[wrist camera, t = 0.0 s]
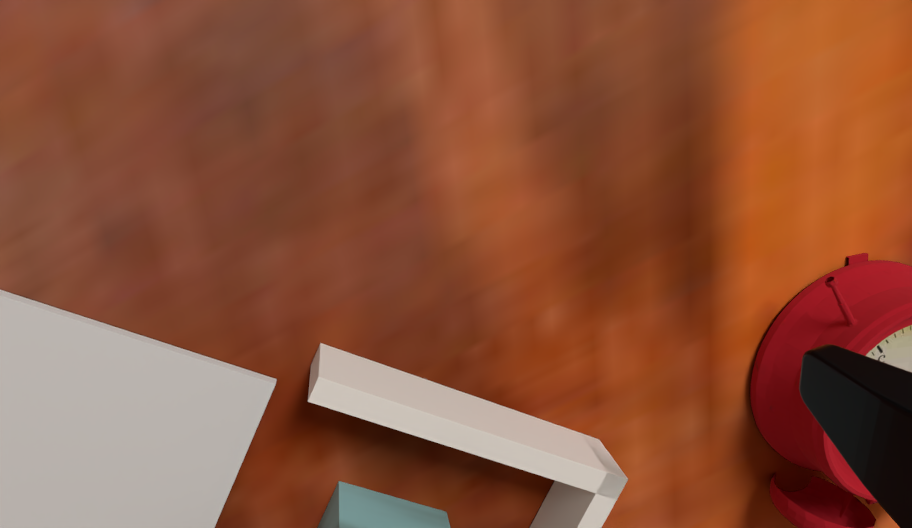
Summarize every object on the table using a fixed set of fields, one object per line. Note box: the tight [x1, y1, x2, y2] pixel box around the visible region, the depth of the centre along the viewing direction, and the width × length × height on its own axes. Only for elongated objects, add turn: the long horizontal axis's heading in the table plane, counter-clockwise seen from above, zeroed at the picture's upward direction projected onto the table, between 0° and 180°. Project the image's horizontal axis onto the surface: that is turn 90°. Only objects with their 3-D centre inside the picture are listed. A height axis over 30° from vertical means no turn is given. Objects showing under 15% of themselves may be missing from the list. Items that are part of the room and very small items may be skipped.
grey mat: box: [0, 290, 277, 528], centre depth 24 cm, size 12×12×1 cm
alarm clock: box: [750, 253, 912, 528], centre depth 28 cm, size 10×6×15 cm
